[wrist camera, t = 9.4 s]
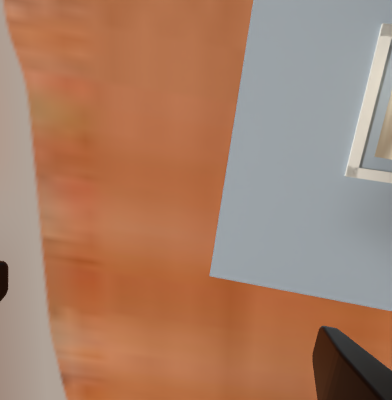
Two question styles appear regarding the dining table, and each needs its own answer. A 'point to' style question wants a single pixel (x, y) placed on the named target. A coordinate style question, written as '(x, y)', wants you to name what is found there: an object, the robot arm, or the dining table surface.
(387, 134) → the beech block
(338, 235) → the build board
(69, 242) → the dining table surface
